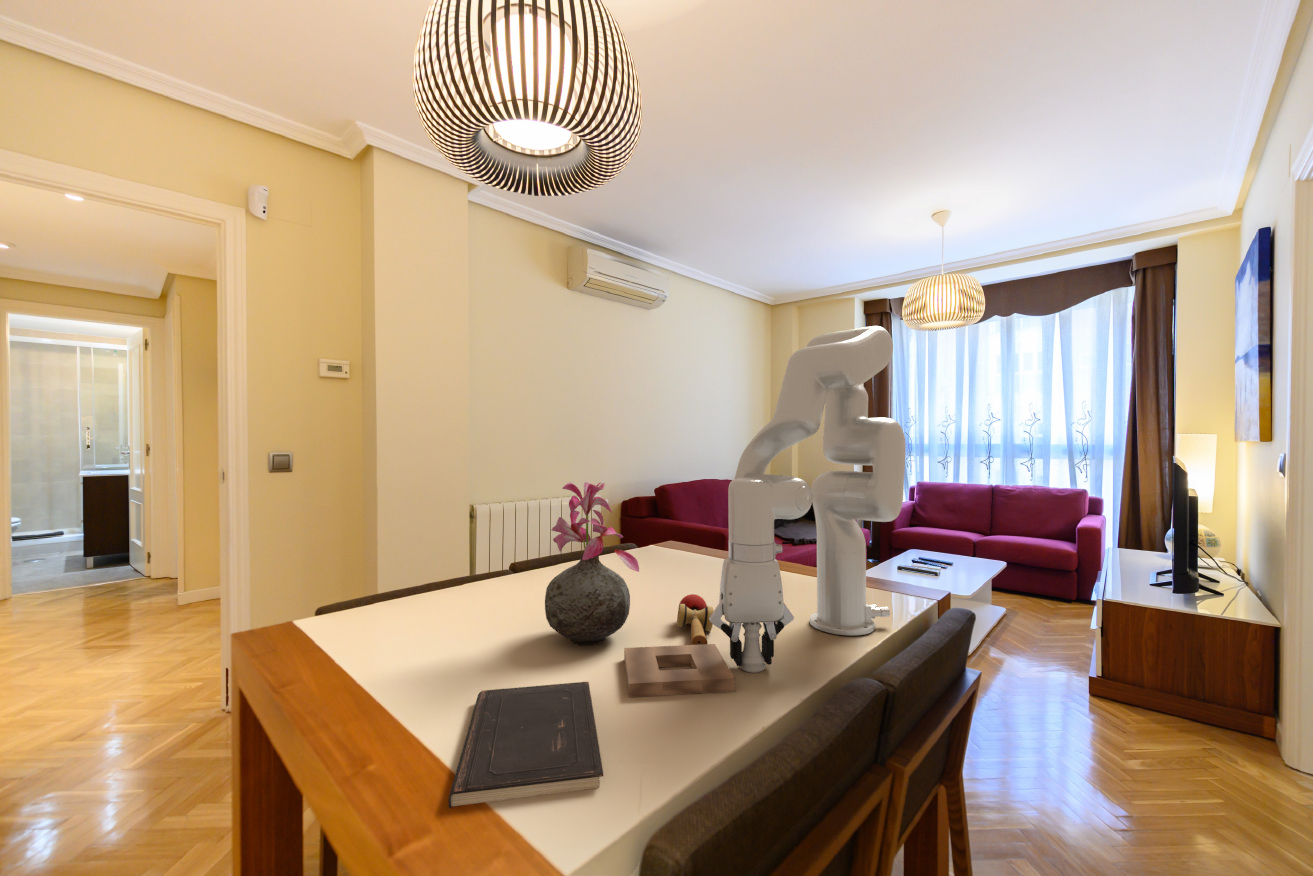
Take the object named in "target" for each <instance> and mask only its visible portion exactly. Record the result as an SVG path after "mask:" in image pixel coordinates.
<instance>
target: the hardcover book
mask: <svg viewBox="0 0 1313 876" xmlns="http://www.w3.org/2000/svg"><path fill="white" fill-rule="evenodd" d="M467 728H468V729H467V732H466V736H465V739H464V743H463V746H462V751H461V754H460V756H459V761H458V763H457V767H456V771H455V774H454V778H453V782H452V785H451V788H450V792H449V795H448V808H449V809H452V807H458V806H466V805H474V804H481V803H488V802H496V801H497V802H498V801H504V800H511V799H512V800H513V799H520V798H529V797H535V796H542V795H543V796H544V795H551V794H559V793H567V792H573V791H574V792H575V791H581V790H589V789H596V788H597V789H599V788H600V785H601V779H600V777H604V770H603V762H602V756H601V751H600V744H599V739H598V738H599V737H598V733H597V725H596V720H595V714H594V708H593V702H592V695H591V690H590V682H589V681H579V682H567V683H556V684H555V683H554V684H542V685H533V686H522V687H521V686H520V687H507V688H496V689H486V690H481V691H480V692H478V694H477V698H476V701H475V705H474V708H473V711H472V715H471V719H470V722H469V726H468V727H467Z"/></svg>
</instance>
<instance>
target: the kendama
mask: <svg viewBox="0 0 1313 876" xmlns="http://www.w3.org/2000/svg"><path fill="white" fill-rule="evenodd" d="M714 610H715V609H714V607H713V606H709V605H708V604H707V602H706V601H705V599H704V598H703V597H701V596H700V595H698V594H693V593H691V594H687V595H685V596H684V597H683V598H682V599H681V600H680V602H679V604H678V610H677V616H676V617H677V618H676V625H677V627H678V628H679V627H680V628H682V627H684V626H686V625H690V634H691V635H690V636H691V640H690V645H701V644H709V643H708V639H707V636H706V634H705V632H711V630H712V628H713V624H712V623H711V622H710V620H709V618H710V616H711V615H712V613H713V612H714Z"/></svg>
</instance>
